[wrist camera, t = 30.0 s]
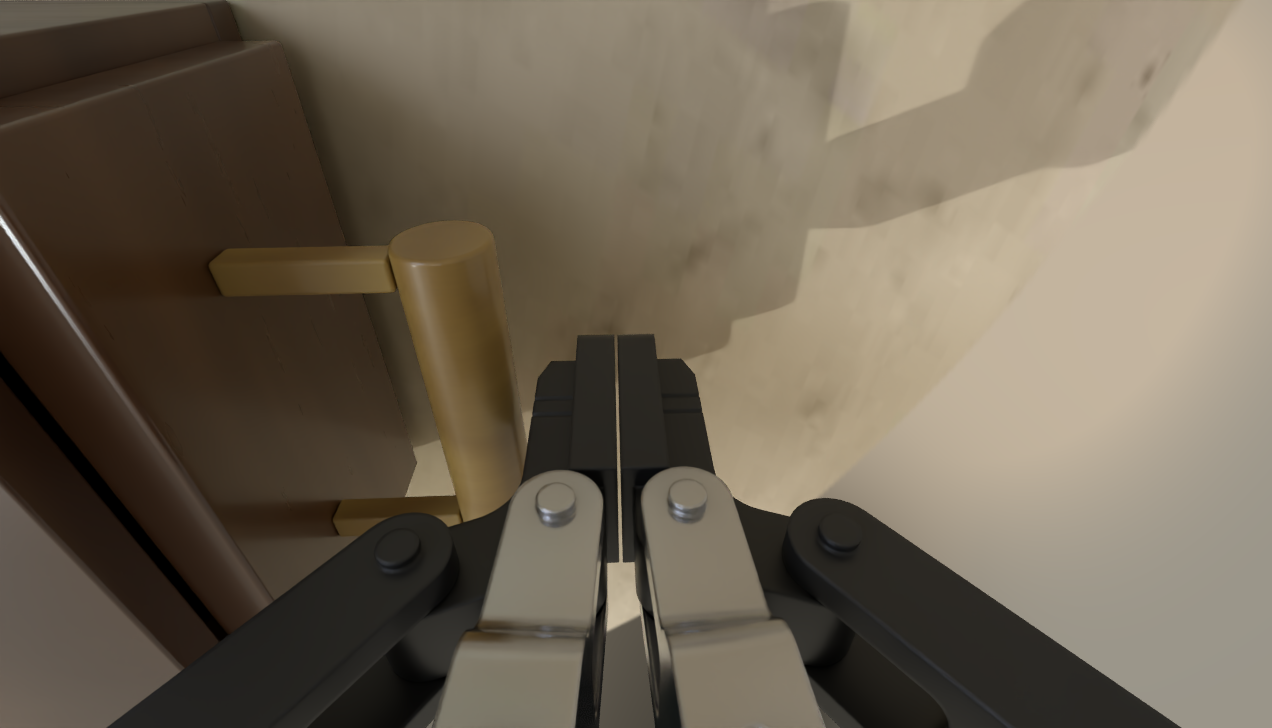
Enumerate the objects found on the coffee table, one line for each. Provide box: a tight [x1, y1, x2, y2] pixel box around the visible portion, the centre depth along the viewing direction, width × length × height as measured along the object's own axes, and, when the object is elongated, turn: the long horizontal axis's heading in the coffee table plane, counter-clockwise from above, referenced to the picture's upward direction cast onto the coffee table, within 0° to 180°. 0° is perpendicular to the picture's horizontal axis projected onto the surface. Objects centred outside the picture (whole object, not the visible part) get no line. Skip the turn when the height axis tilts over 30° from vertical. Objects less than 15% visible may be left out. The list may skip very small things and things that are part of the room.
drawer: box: [0, 41, 527, 641], centre depth 11 cm, size 18×11×7 cm, turn 90°
